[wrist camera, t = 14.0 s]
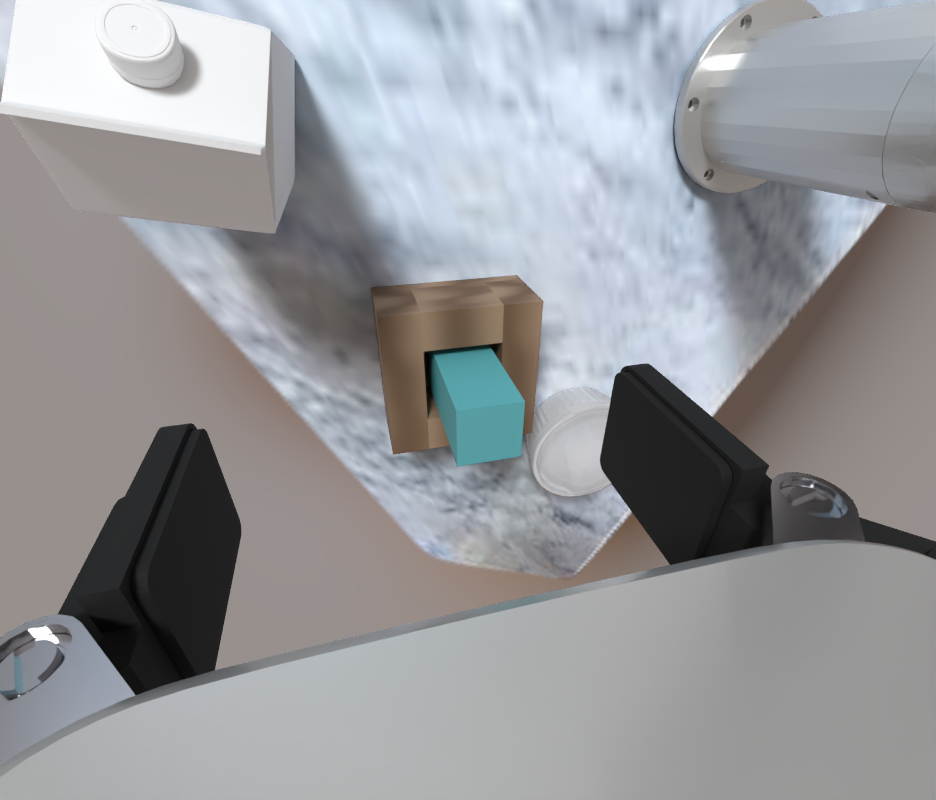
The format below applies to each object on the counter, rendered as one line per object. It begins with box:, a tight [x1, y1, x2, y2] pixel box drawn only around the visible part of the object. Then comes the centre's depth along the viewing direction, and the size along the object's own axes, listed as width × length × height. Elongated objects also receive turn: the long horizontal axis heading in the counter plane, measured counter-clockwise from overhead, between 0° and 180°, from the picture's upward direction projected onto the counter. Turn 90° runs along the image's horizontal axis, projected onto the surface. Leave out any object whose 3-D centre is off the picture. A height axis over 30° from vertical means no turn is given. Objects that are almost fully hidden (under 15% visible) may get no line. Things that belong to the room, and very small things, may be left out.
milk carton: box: [0, 0, 295, 234], centre depth 22 cm, size 7×7×19 cm
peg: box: [426, 344, 525, 467], centre depth 36 cm, size 4×4×12 cm
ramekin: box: [526, 387, 611, 497], centre depth 48 cm, size 11×11×5 cm
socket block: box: [371, 275, 543, 454], centre depth 40 cm, size 12×12×6 cm
